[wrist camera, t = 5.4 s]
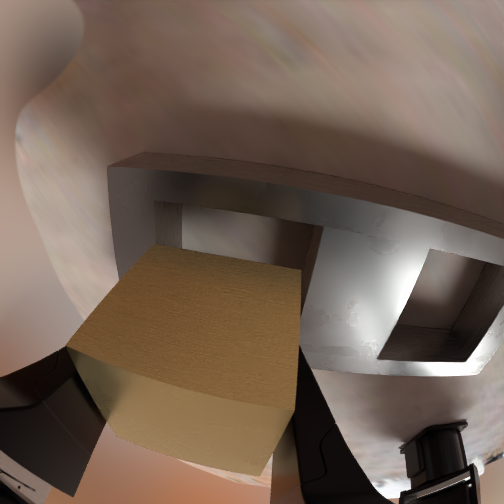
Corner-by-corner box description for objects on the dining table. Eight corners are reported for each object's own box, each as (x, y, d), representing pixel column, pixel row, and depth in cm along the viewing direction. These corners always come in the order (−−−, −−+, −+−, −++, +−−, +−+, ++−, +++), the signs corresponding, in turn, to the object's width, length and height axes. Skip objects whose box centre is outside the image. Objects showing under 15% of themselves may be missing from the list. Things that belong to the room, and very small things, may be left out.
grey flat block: (522, 232, 11) (549, 256, 8) (464, 344, 15) (477, 374, 13) (141, 152, 13) (107, 166, 10) (150, 298, 17) (129, 329, 15)
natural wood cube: (301, 270, 9) (294, 410, 5) (275, 368, 11) (259, 476, 7) (153, 243, 9) (65, 345, 5) (163, 343, 12) (117, 436, 8)
